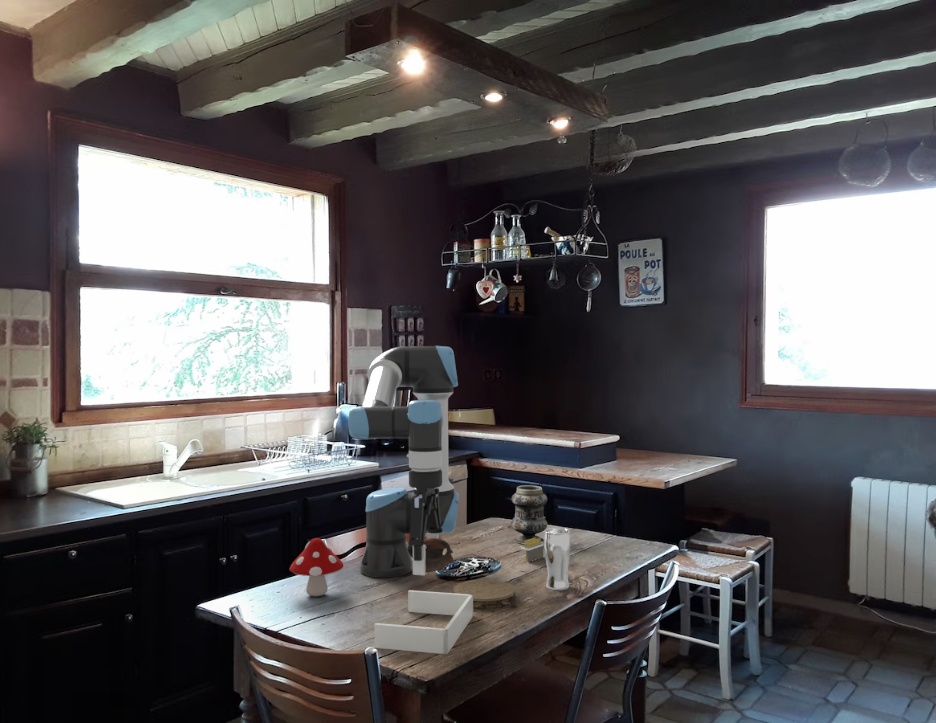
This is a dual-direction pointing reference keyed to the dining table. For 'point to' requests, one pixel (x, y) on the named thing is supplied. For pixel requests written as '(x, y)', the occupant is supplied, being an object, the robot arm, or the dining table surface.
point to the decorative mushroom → (316, 566)
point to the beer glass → (557, 557)
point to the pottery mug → (435, 554)
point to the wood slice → (487, 593)
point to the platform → (533, 549)
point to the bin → (426, 636)
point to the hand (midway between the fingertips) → (426, 567)
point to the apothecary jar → (529, 512)
